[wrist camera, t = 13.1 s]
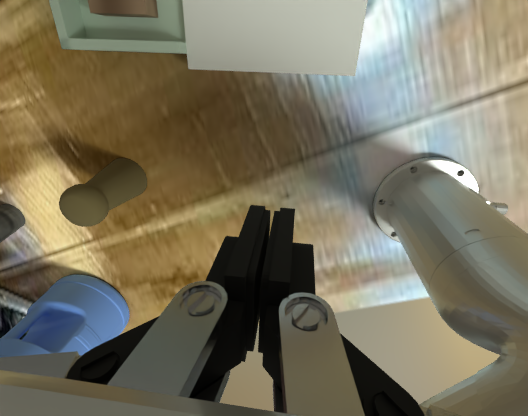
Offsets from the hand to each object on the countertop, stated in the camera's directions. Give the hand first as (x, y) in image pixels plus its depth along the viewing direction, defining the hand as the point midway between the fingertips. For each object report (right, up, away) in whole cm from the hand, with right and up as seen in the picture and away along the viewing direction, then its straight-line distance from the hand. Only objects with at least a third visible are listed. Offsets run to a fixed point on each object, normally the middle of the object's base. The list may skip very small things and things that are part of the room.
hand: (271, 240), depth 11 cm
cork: (-21, +6, +31) cm, 38 cm away
